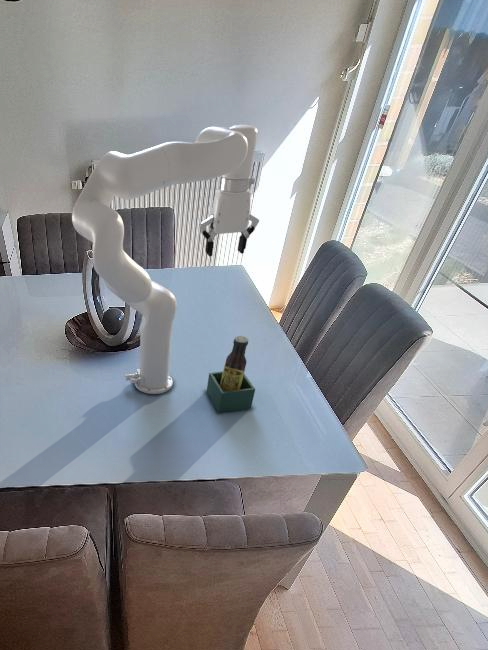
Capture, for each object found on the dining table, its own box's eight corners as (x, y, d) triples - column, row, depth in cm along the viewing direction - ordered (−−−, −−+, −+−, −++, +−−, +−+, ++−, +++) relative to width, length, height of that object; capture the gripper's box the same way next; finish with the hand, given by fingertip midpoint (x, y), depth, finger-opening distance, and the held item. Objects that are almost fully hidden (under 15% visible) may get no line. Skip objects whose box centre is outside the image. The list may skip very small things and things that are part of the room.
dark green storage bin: (218, 412, 141) (221, 393, 136) (206, 391, 149) (209, 372, 144) (250, 408, 142) (255, 389, 137) (237, 387, 150) (241, 369, 145)
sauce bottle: (215, 399, 144) (225, 341, 129) (221, 389, 148) (231, 331, 133) (235, 405, 142) (247, 346, 127) (241, 394, 145) (254, 336, 131)
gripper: (259, 179, 125) (247, 246, 138) (199, 183, 123) (192, 251, 136) (271, 185, 120) (257, 255, 132) (208, 190, 118) (200, 260, 131)
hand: (224, 253), depth 134 cm, fingers open, 9 cm apart
